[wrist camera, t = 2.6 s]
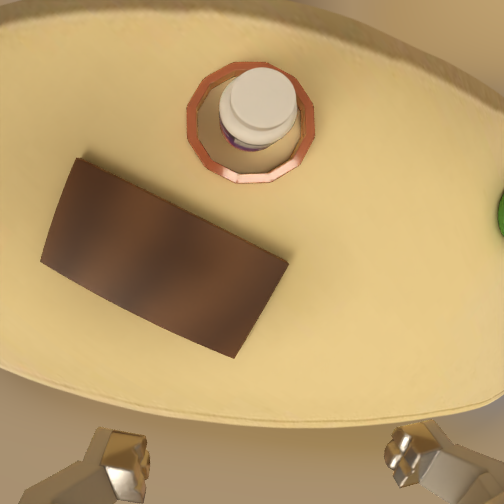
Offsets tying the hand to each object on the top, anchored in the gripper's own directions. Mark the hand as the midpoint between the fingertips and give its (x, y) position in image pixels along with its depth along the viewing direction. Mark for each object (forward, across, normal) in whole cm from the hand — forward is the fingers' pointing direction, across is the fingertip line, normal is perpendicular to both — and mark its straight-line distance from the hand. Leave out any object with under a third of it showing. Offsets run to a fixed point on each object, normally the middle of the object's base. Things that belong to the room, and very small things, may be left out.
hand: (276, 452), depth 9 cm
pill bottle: (+22, 0, -13) cm, 26 cm away
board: (+22, +8, 0) cm, 23 cm away
